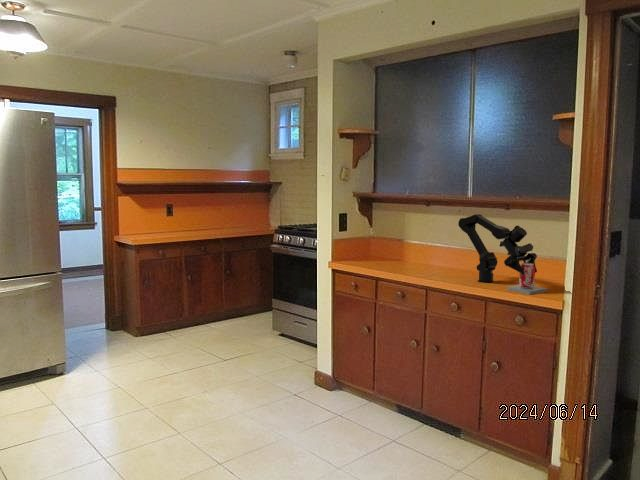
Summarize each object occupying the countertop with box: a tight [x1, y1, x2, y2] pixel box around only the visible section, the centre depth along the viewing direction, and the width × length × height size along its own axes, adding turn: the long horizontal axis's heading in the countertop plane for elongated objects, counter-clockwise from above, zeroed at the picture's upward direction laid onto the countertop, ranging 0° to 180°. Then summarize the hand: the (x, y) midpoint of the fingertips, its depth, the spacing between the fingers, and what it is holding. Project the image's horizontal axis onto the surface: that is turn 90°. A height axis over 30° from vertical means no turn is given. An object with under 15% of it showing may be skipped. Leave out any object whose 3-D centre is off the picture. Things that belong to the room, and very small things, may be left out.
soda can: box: [518, 262, 536, 289], centre depth 259 cm, size 7×7×12 cm
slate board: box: [506, 284, 548, 295], centre depth 260 cm, size 13×13×2 cm
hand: (530, 272), depth 258 cm, fingers open, 9 cm apart
